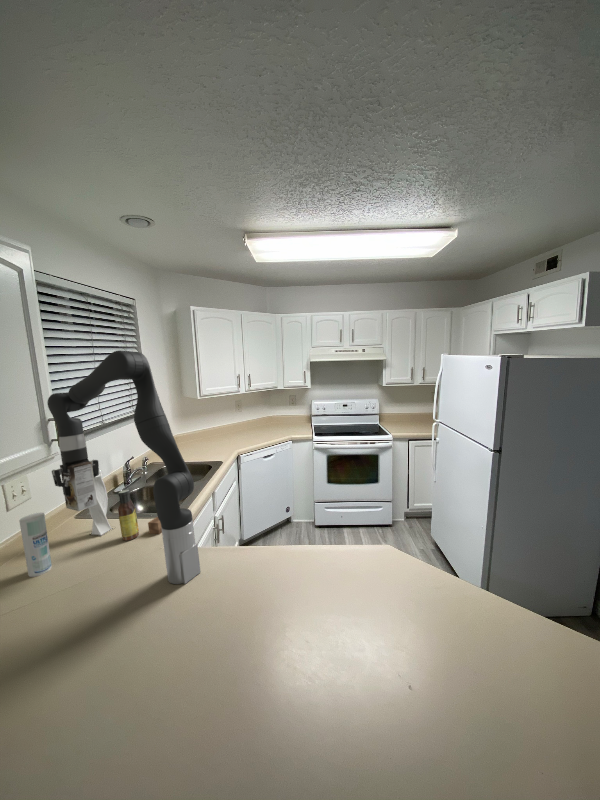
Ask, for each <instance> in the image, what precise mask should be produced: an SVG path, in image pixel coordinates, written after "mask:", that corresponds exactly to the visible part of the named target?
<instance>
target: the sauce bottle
mask: <svg viewBox="0 0 600 800" xmlns="http://www.w3.org/2000/svg"><path fill="white" fill-rule="evenodd" d="M130 494H131V492H130V489H123V490H120V491H119V492H118V494H117V496H118V497H119V506H118V508H117V512H118V521H119V526H120V531H121V532H120V533H121V537H122V540H123V541H127V542H128V541H132V540H134V539H135V538H137V537H139V535H140V534H139V531H140V528H139V525H138V517H137V511H136V509H137V508H136V506H135V505H134V503H133V501H132V499H131V495H130Z"/></svg>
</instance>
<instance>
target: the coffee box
mask: <svg viewBox="0 0 600 800" xmlns="http://www.w3.org/2000/svg"><path fill="white" fill-rule="evenodd" d="M60 468H62V464H59V469H60ZM67 469H68V473H65V472H63V471H62V472H61V475H60V477H61V481H62V482H63V480H64V476H65V477H68V476H69V478H70V480H69V486H70V493H71V496H70V497H66V496H65V495H64V494H63V496H64V501H65V508H66V509H69V510H73V511H76V512H81V511H84V510H86V509H89V507H92V506H94V505H97V500H96V492H95V484H94V476H93V469H92V462H83V463H77V464H73V465H69V466H67Z"/></svg>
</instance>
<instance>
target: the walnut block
mask: <svg viewBox="0 0 600 800" xmlns="http://www.w3.org/2000/svg"><path fill="white" fill-rule="evenodd" d="M147 527H148V534H149V535H160V534H161V535H162V528H161V523H160V520H159V519H158V516H156V517H155V518H152V519H151V520H150V521H148V522H147Z"/></svg>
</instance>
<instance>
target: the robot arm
mask: <svg viewBox="0 0 600 800" xmlns="http://www.w3.org/2000/svg"><path fill="white" fill-rule="evenodd" d="M117 380H121V381H122V380H130V381H131V380H132V382H133V384H134V387H135V391H136V396H137V399H136V404H135V405H136V406H135V409H134V415H133V423H134V425H135V428H136V430H137V433H138V436H139V438H140V440H141V441H142V443H143V444H144V445H145V446H146V447H147V448H148V449H150V451H152V452H154V454H156V455H157V456H158V457H159V458H160V459H161V461H162V462H163V464H164V467H165V468H166V471H167V473H166V474H165V475H163V476H161V477H159V478H157V479H156V480H155V481H154V483H153V488H152V493H153V498H154V504H155V505H154V506H155V509H156V515H157V516H156V517H158V519H159V520H160V523H161V528H162V533H161V536H162V543H163V550H164V551H163V552H164V559H165V565H166V566H165V567H166V574H167V582H168V583H169V584H173V585H174V584H175V585H179V584H187V583H188V582H190V581H191V580H192V579H194V578H195V577H196V576H197V575H198V574H200V573H201V572H202V571H201V566H200V565H201V564H200V556H199V555H200V554H199V545H198V543H196V538H195V530H194V529H195V528H194V519H193V513H192V510H191V509H188V508H181V506H180V501H182V500H184V499H186V498H187V497H189V496H190V495H191V494H192V493H193V492H194V489H195V482H194V478H193V475H192V473H191V471H190V469H189V468H188V465H187V464H186V462H185V460H184V457H183V456H182V454H181V452H180V449H179V447H178V445H177V442H176V439H175V436H174V435H173V432H172V429H171V427H170V423H169V421H168V418H167V415H166V413H165V411H164V408H163V406H162V405H163V404H162V402H161V401H160V397H159V394H158V392H157V391H158V390H157V389H156V385H155V381H154V377H153V373H152V369H151V366H150V363H149V360H148V358H147V357H146V356H145V355H144V354H143V353H141V352H138V351H134V350H133V351H132V350H131V351H130V350H115V351H112V352H111V353H110V354H109V355H107V356H106V357H105V358H104V359H103V360H102V361H101V362H100V363H99V364H98V365H97V366H96V367H95V368H94V370H93V371H91V373H90V374H89V375H87V376H86V377H84V378H82V379H81V380H80V381H77V383H75V384H73V385H72V386H71V387H70V388H69V390H68V391H67V392H55V393H52V394H50V395H49V397H48V398H47V408H48V410H49V412H50V413H51V415H52V417H53V419H54V422H55V424H56V426H57V430H58V431H57V432H58V436H59V437H58V438H59V439H58V442H59V445H58V446H59V447H58V448H59V451H60V459H61V463H62V464H61V465H62V468H60V467H59V468H58V469H52V470H51V475H52V478H53V482H54V486H55V487H59V488H61V487H62V493H63V496H64V495H65V496H66V497H70V496H71V493H70V486H69V480H70V478H69V476H68V477H65V476H64V480H63V482H62V476H61V472H62V471H63V472H65V473H68V469H67V466H69V465H73V464H77V463H83V462H92V469H93V476H94V477H96V476H98V475H99V471H100V468H99V467H100V466H99V465H100V464H99V460H98V459H91V460H89V456H88V448H87V443H86V437H85V434H84V433H85V432H84V427H83V425H84V424H83V421H82V419H81V418H78V417H71V416H70V415H69V413H72V412H78V411H81V410H83V409H85V408H86V407H87V405H88V404H89V402H90V401H92V400H94V399H95V398H97V397H99V396H100V395H101V394H102V393H103V392H104V390H105V388H106V385H107V384H108V383H111V382H113V381H117ZM65 496H64V497H65Z"/></svg>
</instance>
